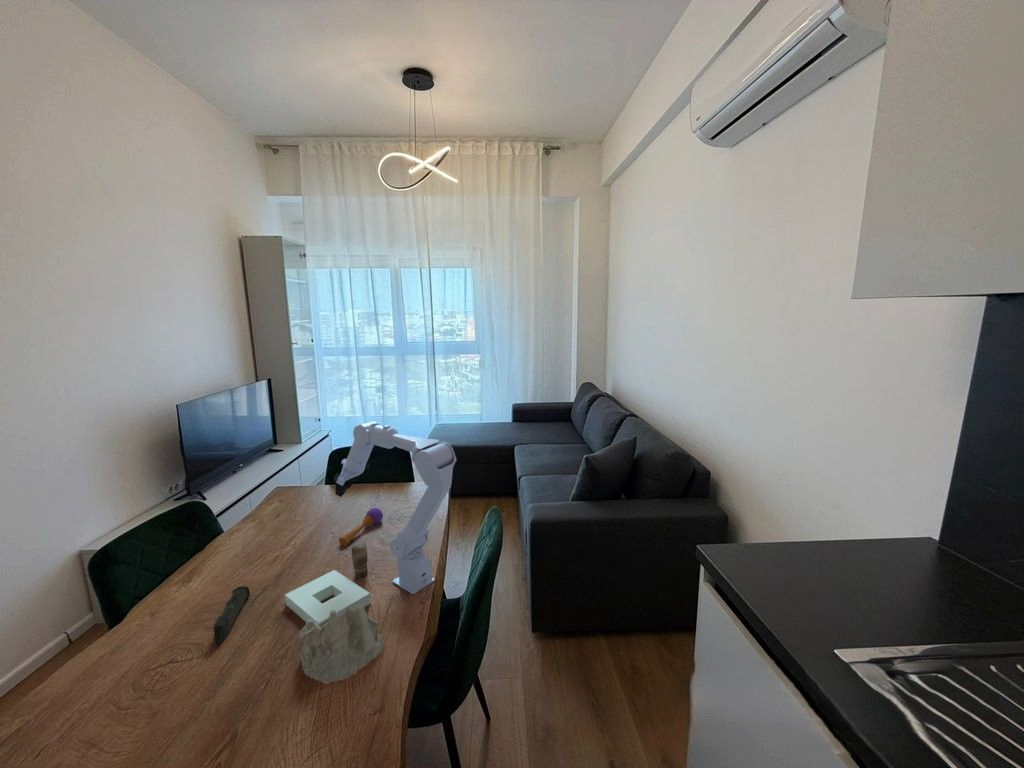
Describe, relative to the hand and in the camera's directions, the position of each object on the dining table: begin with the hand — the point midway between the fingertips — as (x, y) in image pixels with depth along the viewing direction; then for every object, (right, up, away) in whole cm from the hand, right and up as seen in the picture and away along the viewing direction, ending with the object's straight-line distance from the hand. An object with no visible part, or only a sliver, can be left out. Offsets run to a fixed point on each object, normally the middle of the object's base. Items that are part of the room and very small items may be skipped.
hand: (345, 487), depth 132 cm
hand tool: (-19, -29, -24) cm, 42 cm away
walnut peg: (+7, -25, -6) cm, 26 cm away
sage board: (+3, -27, -19) cm, 33 cm away
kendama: (-2, -21, +20) cm, 29 cm away
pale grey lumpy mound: (+13, -29, -36) cm, 48 cm away
